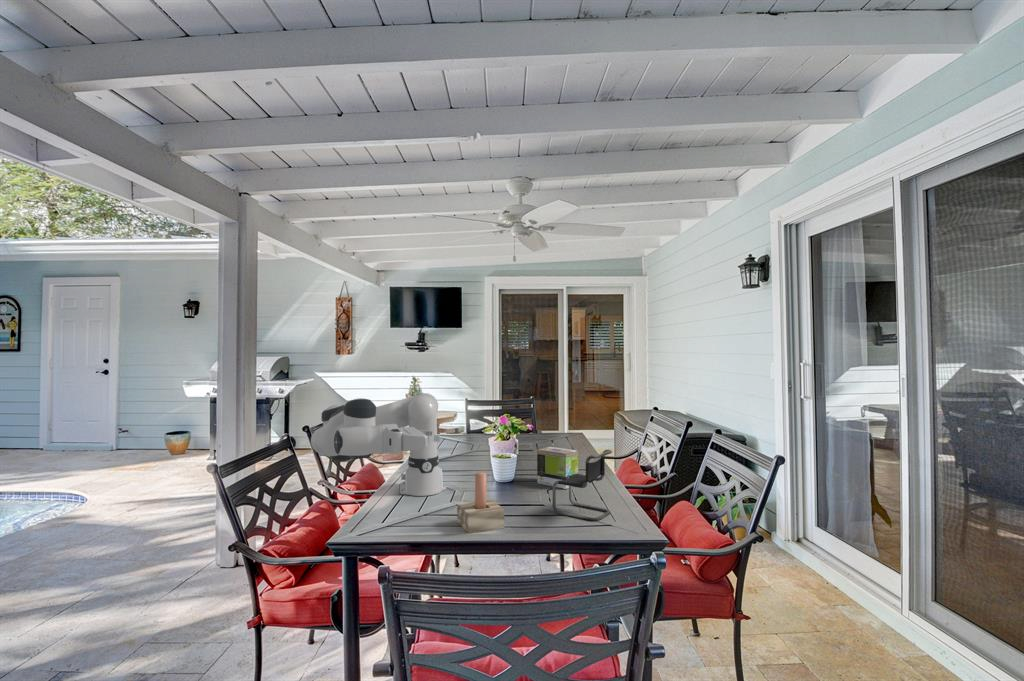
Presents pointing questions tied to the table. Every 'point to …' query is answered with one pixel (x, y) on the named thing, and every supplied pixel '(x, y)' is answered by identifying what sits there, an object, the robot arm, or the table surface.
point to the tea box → (556, 465)
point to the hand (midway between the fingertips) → (435, 435)
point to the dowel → (480, 490)
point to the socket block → (480, 516)
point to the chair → (584, 485)
